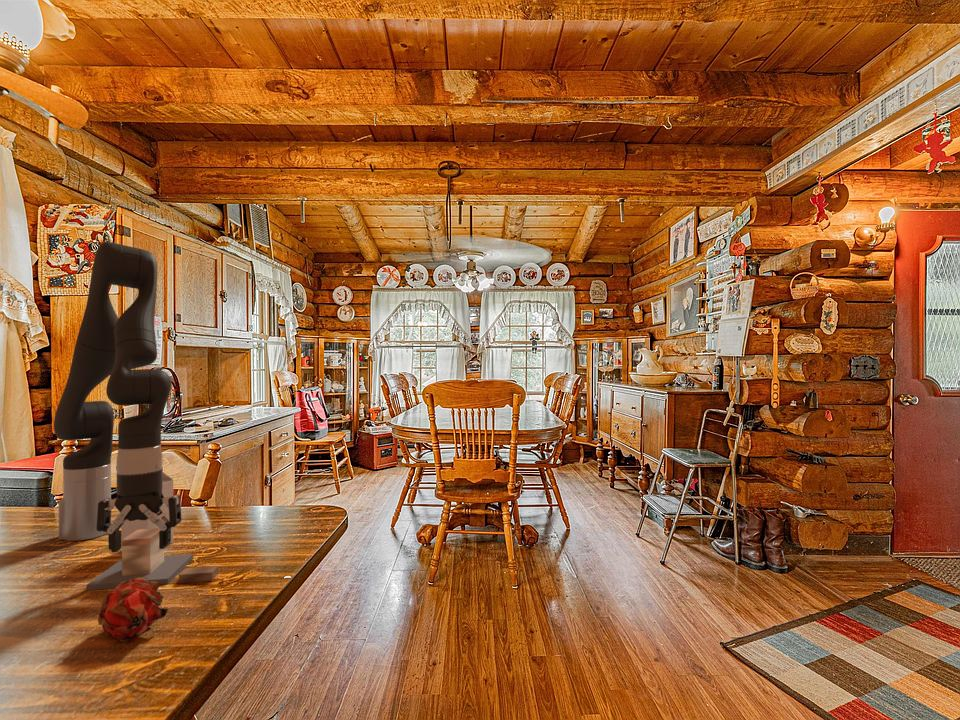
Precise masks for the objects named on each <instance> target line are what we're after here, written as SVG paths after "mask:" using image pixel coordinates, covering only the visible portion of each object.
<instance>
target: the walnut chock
mask: <svg viewBox="0 0 960 720" xmlns="http://www.w3.org/2000/svg"><path fill="white" fill-rule="evenodd" d="M218 575H219V566H218V565H213V566H212V565H211V566H198V567H196V566H195V567H184V568H183V569H182V570H181V571H180V572H179V573H178V584H186V583H187V584H188V583H200V582H209V581H210V582H211V581H214V579H215V578H216V577H217V576H218Z"/></svg>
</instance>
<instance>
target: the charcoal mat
mask: <svg viewBox="0 0 960 720" xmlns="http://www.w3.org/2000/svg"><path fill="white" fill-rule="evenodd" d="M193 560H194V553H189V554H188V553H185V554H173V555H172V554H171V555H164V562H162V563H161V564H160V565H159V566H158V567H157V568H156V569H155V570H154V571H152V572H151V573H149V574H137V575H125V576H122V558H121V559H120V560H118V561H117V562H115V563H114V564H113V565H112V566H110V567H108V568H107V569H106V570H104V572H103V573H101V574H99V575H98V576H96V577H95V578H94V579H93V580H91V581H90V582H88V583H87V584H86V585H85V587H86V589H85V590H86V591H94V590H96V591H97V590H107V589H115V588H116V587H117V586H118V585H119V584H120V583H122V582H125V581H128V580H133V579H135V578H138V577H142V578H145V579H146V580H147V581H157V582H158V583H159V584H160V585H167V584H170V582H172V581H173V580H174V578H175V577H176V576H178V575H179V574H180V573H181V572H182V571H183V570H184V569H185V568H186V567H187V565H189V564H190V562H192V561H193Z"/></svg>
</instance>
